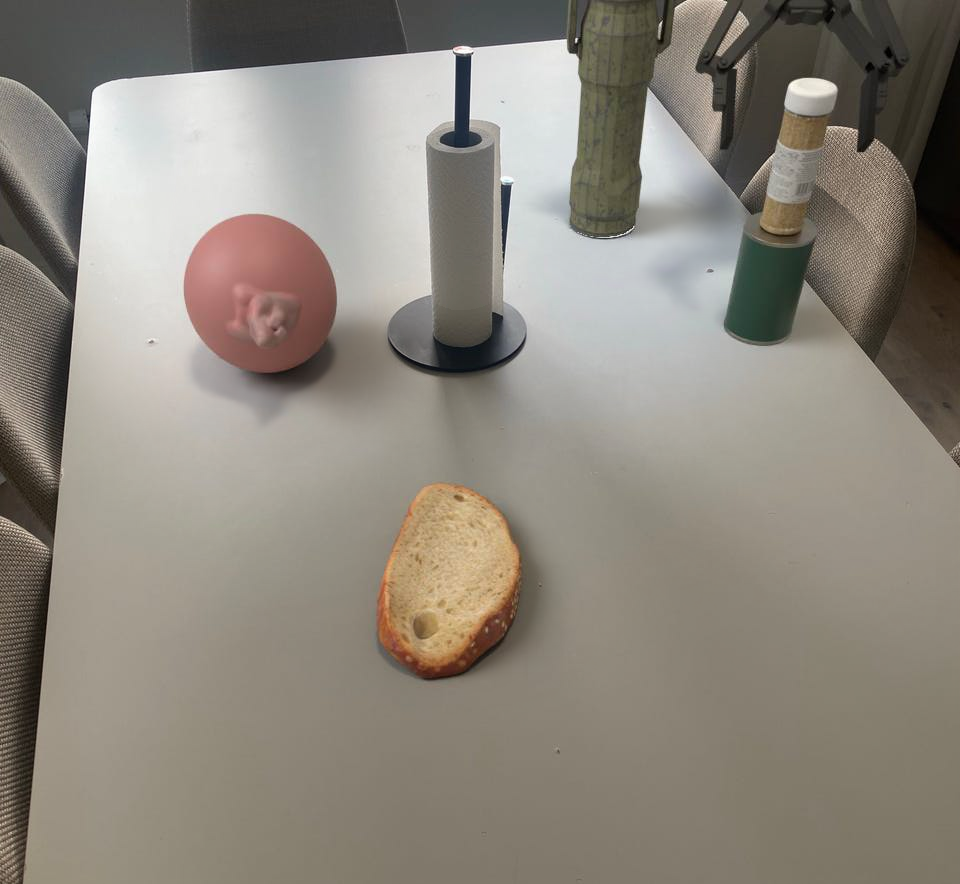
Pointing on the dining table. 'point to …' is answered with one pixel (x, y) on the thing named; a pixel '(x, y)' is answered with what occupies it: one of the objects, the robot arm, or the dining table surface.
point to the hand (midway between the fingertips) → (795, 145)
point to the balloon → (260, 293)
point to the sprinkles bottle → (797, 154)
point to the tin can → (768, 282)
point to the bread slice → (448, 582)
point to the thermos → (612, 108)
